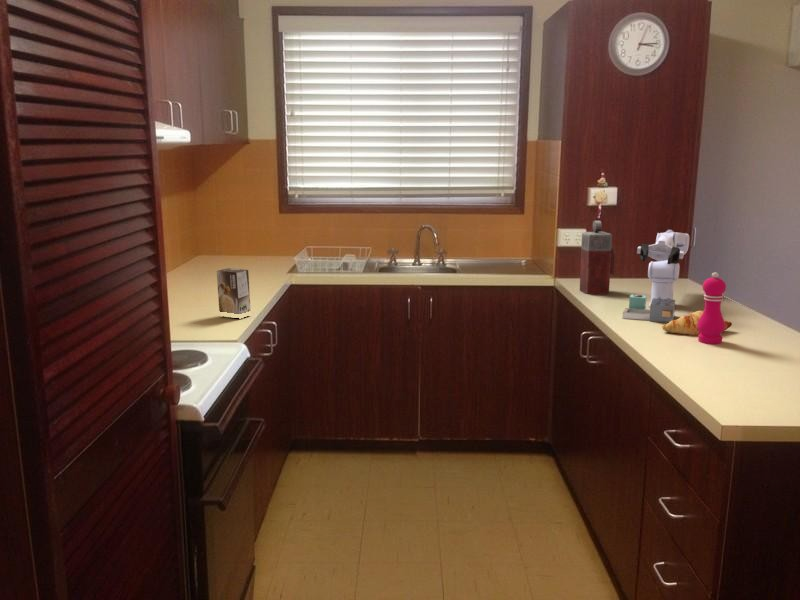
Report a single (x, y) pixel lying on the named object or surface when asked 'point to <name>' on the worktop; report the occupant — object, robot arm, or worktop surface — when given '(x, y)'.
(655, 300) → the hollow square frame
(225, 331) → the worktop surface
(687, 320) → the croissant
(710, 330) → the pepper mill
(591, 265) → the red canister
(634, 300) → the teal block with knob
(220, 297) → the coffee box
